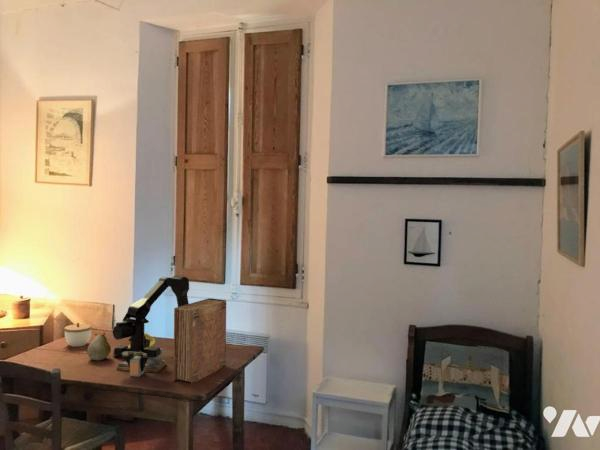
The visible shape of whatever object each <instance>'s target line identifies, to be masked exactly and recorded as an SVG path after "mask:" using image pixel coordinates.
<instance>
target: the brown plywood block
mask: <svg viewBox="0 0 600 450" xmlns="http://www.w3.org/2000/svg"><path fill="white" fill-rule="evenodd" d="M226 342H227V300H226V299H217V298H205V299H202V300H198V301H194V302H190V303H189V304H187V305H183V306H180V307H178V306H176V307H174V310H173V371H172V372H173V373H172V374H173V378H172V379H173V381H176V380H178V381H184V382H189V383H190V384H194V383H196V382H199V381H200V380H202V379H204V378H206V377H208V376H210V375H212V374H214V373H216V372H217V371H219V370H222V369H223V368H225V367H226V365H227V364H226V361H227V360H226V356H227V355H226V354H227V353H226V351H227V348H226V347H227V346H226V344H227V343H226Z"/></svg>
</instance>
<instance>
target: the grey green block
mask: <svg viewBox="0 0 600 450" xmlns="http://www.w3.org/2000/svg"><path fill="white" fill-rule="evenodd" d="M142 356H143V355H139V356H135V357H133V358H132V359H130V371H129V376H130V377H139V378H140V377H141V376H142V375H144V374H145V372H144V370H143V372H141V361H140V357H142Z"/></svg>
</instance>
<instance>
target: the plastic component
mask: <svg viewBox="0 0 600 450" xmlns="http://www.w3.org/2000/svg"><path fill="white" fill-rule="evenodd" d="M144 336H146V339H149V340H150V346H149V347H147V348H144V349H150V348H151V347H154V345H155V343H156V339H155V338H154V337H153V336H151V335H150V334H149V333H147V332H144ZM118 346H119V345H118ZM118 346H116V347H118ZM127 346H128V348H130V344H129V345H127ZM121 355H122V356H123V352H122V354H121ZM112 356H114V357H117V356H118V355H114V352H113V354H112ZM135 356H142V354H140V353H134V356H133V357H135Z"/></svg>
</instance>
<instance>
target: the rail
mask: <svg viewBox="0 0 600 450" xmlns="http://www.w3.org/2000/svg"><path fill="white" fill-rule="evenodd" d="M160 349H161V354H160V355H158V356H157V357H149V358H148V359H147V362H146V364H145V367H144V373H154V374H155V373H158V372H159V371H161V370H162V369H163V368H164V367H165V366H167V361H166V360H164V359H163V348H160ZM117 365H118V366H117V367H116V370H117V371H123V372H124V371H127V372H130V367H129V365H128V363H127V362H126V360H125V361H124V362H118V363H117Z"/></svg>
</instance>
